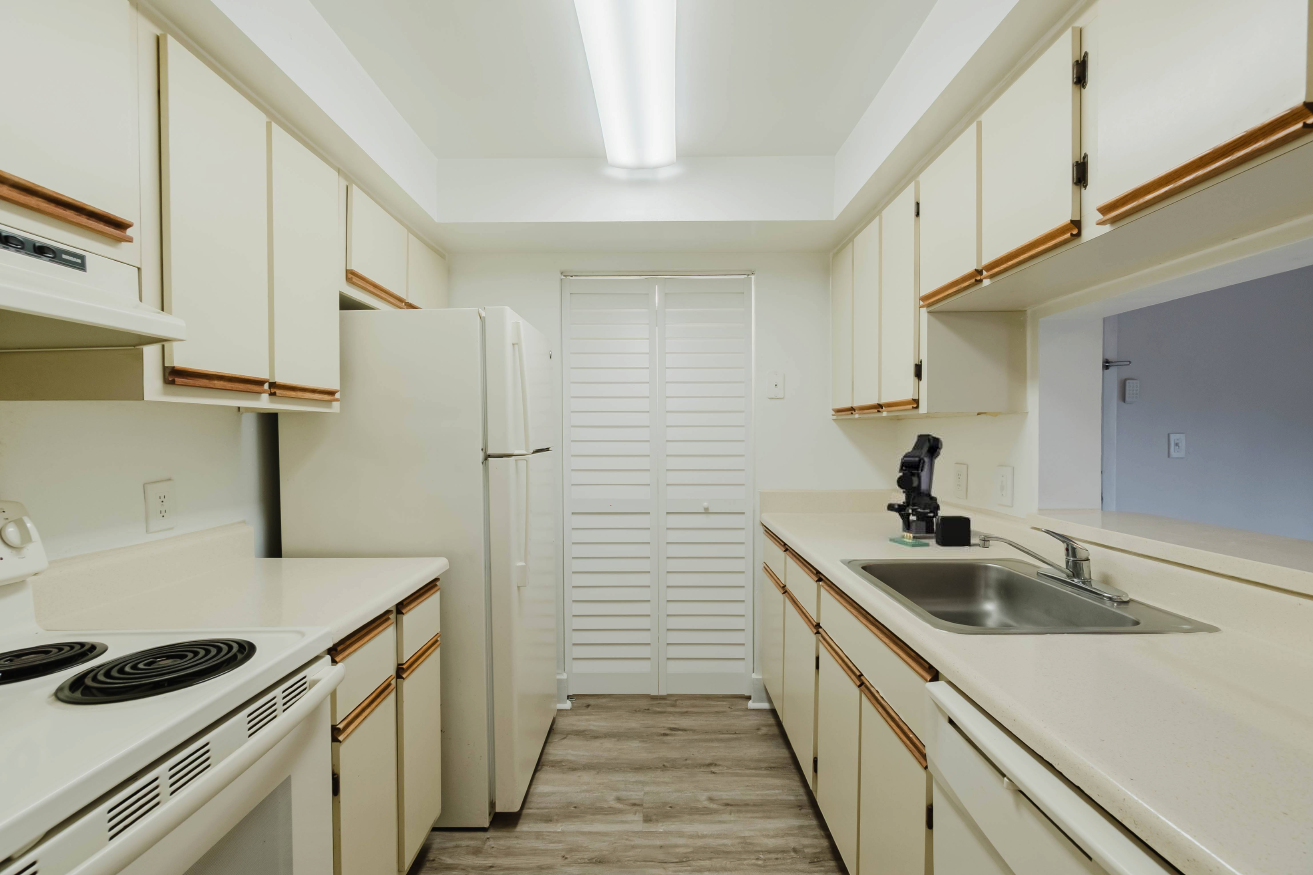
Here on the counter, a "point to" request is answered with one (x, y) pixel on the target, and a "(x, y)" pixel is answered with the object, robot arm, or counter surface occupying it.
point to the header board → (909, 541)
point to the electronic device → (952, 531)
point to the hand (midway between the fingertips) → (913, 530)
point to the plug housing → (915, 527)
